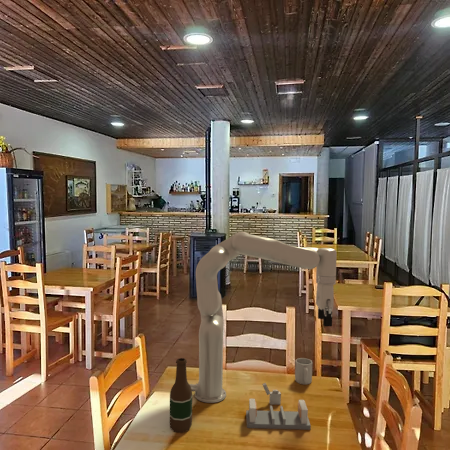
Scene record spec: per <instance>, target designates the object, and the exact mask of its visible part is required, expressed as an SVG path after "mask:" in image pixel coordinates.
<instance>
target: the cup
mask: <svg viewBox="0 0 450 450" xmlns="http://www.w3.org/2000/svg"><path fill="white" fill-rule="evenodd" d="M294 364H295V367H294V369H295V371H294V380H295V382H296V383H298V384H300V385H303V386H304V385H305V386H306V385H310V384H312V382H313V360H311V359H309V358H306V357H300V358H299V357H298V358H297V359H295V363H294Z"/></svg>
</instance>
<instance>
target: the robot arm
mask: <svg viewBox="0 0 450 450" xmlns="http://www.w3.org/2000/svg"><path fill="white" fill-rule="evenodd" d="M337 254H338V253H337V250H336V249H334V248H330V247H321V248H320V247H310V246H302V247H300V246H295V245H290V244H287V243H284V242H283V241H280V240H279V239H275V238H269V237H265V236H260V235H255V234H250V233H248V232H246V231H238V232H236V233H234V234H232V235H231V236H229V237H228V238H227V239H225V240H223V241H221V242H219V243H218V244H216V245H214V246H212V248H210V250H209V251H208V252H207V253H206V254H204V255H203V256H202V257H201V259H200V260H199V261H198V263H197V265H196V269H195V284H196V296H197V297H196V299H197V300H196V301H197V308H198V310H199V313H200V325H199V330H198V363H199V364H198V383H195V384H193V383H189V385H190V386H191V389H192V392H194V396H195V397H194V398H195V399H196V400H198V401H199V402H203V403H208V404H209V403H210V404H211V403H212V404H213V403H218V402H219V403H220V402H222V401H223V400H224V399H225V398H226V397H227V392H226V390H225V389H224V388H223V380H224V379H223V374H224V373H223V372H224V371H223V369H224V354H223V353H224V329H225V328H224V326H225V324H224V323H225V322H224V321H225V320H224V313H223V312H224V309H223V301H222V300H223V299H222V294H221V293H220V291H219V286H218V273H219V271H221V270H222V269H224V268H225V267H227V265H228V262H230V261H232V260H233V259H235V258H237V257H238V256H241V255H243V256H246V257H247V256H248V257H253V258H258V259H262V260H265V261H271V262H274V263H279V264H283V265H287V266H290V267H296V268H301V269H306V270H313V269H315V270H316V275H315V277H316V278H315V279H316V280H315V282H316V295H315V305H316V306H317V307H318V309H317V318H318V319H319V320H323V324H322V325H323V327H332V326H333V310H334V303H335V302H334V301H335V300H334V298H335V297H334V294H335V293H334V292H335V291H334V290H335V288H334V285H336V283H337V259H338V258H337V256H338V255H337Z"/></svg>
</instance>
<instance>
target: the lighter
mask: <svg viewBox="0 0 450 450" xmlns="http://www.w3.org/2000/svg"><path fill="white" fill-rule="evenodd" d="M262 387H263V389H264V391H265V394H266V395H267V396H268V395H269V406H273V405H280V406H281V402H282V399H281V398H282V396H281V395H282V393H281V391H280V390H278V389H272V391H270V389H269V387H268V385H267V383H266V382H264V383H262Z"/></svg>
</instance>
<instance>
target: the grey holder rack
mask: <svg viewBox="0 0 450 450" xmlns="http://www.w3.org/2000/svg"><path fill="white" fill-rule="evenodd" d="M248 403H249V404H248V409H247V410H246V411H245V412H246V413H245V417H246V418H245V419H246V428H247V429H272V430H273V429H276V430H277V429H278V430H305V431H306V430H310V431H311V430H312V429H311V426H312V425H311V423H310V419H309V417H308V414H309V413H308V411H309V410H308V409H309V408H308V407H307V404H306V401H305V400H304V399H298V402H297V411H290V410H289V411H286V410H284V408H283V405H280V406H279V407H280V408H279V409H280V410H274V408H273V405H269V410H258V407H257V401H256V399H255V398H249V401H248Z"/></svg>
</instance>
